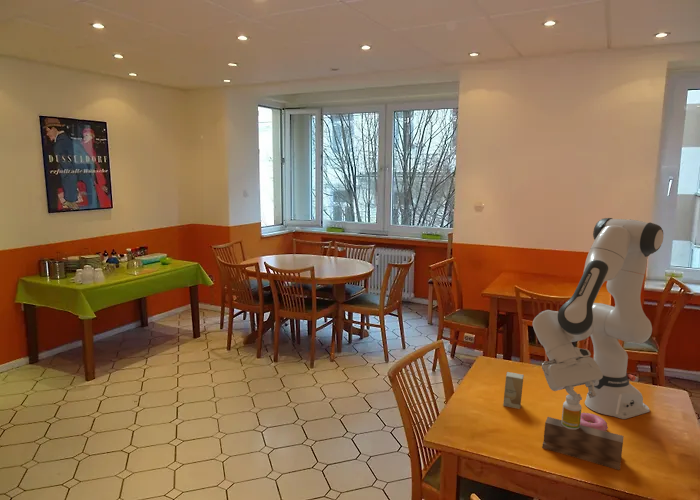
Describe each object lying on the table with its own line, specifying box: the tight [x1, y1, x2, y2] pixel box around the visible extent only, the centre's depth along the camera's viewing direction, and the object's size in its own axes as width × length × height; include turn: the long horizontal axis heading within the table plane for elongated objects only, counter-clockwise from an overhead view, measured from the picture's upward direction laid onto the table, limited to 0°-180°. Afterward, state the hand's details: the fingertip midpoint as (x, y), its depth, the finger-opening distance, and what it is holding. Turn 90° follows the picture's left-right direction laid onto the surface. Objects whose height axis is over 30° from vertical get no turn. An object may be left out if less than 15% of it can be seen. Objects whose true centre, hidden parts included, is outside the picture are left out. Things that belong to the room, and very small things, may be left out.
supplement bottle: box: [561, 394, 582, 430], centre depth 154 cm, size 5×5×10 cm
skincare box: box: [502, 371, 524, 410], centre depth 184 cm, size 6×4×12 cm
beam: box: [541, 416, 625, 471], centre depth 154 cm, size 22×8×8 cm, turn 59°
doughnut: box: [580, 412, 609, 432], centre depth 169 cm, size 11×11×4 cm
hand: (586, 398), depth 151 cm, fingers open, 5 cm apart
